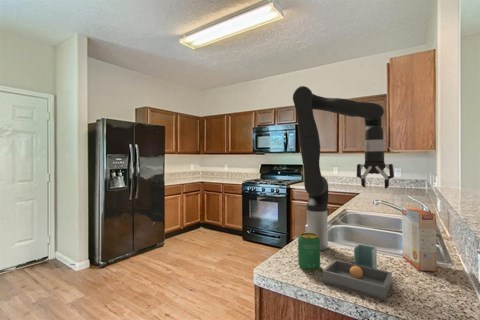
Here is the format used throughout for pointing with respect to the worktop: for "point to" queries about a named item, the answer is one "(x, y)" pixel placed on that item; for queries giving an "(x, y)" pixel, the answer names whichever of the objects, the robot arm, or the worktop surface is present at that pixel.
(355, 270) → the ball
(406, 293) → the worktop surface
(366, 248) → the teal open-sided box
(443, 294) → the worktop surface
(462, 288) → the worktop surface
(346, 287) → the tray
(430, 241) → the cracker box
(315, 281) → the worktop surface
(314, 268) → the beverage can
